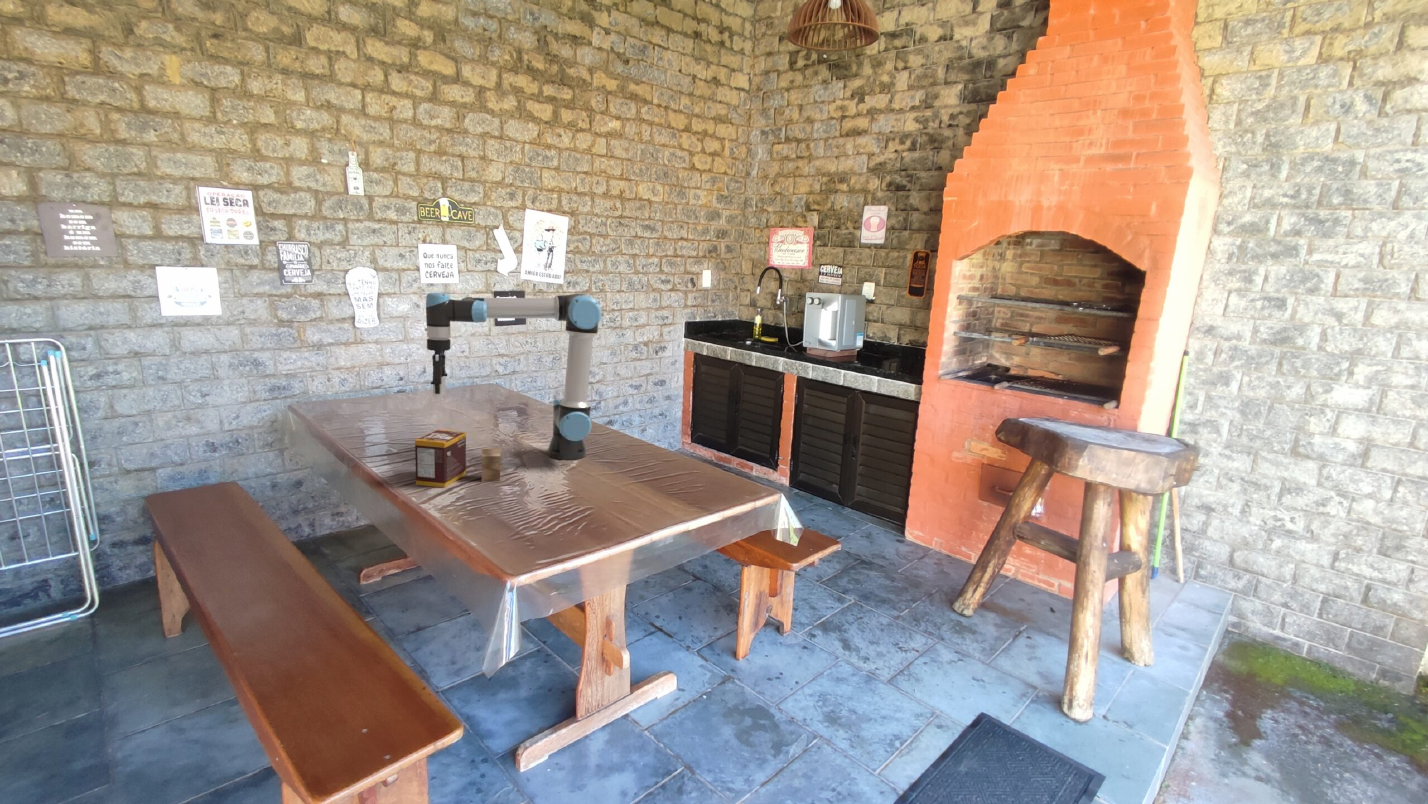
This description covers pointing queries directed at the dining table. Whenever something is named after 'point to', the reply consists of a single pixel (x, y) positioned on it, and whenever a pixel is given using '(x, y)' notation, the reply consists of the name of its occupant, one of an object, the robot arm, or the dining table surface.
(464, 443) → the supplement box
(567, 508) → the dining table surface
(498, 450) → the walnut block
